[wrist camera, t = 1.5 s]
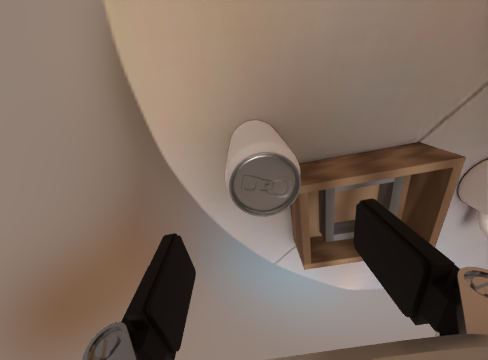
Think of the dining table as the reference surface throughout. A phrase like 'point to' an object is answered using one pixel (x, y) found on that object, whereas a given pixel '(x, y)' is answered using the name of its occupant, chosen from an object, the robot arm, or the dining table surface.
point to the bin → (371, 186)
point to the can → (261, 170)
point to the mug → (477, 192)
